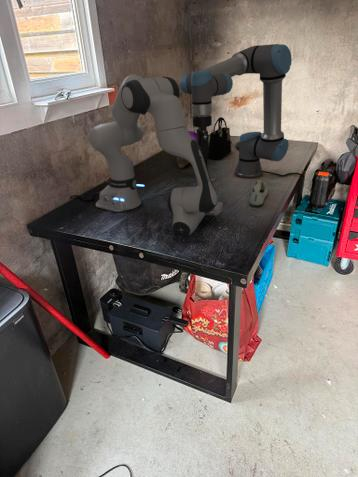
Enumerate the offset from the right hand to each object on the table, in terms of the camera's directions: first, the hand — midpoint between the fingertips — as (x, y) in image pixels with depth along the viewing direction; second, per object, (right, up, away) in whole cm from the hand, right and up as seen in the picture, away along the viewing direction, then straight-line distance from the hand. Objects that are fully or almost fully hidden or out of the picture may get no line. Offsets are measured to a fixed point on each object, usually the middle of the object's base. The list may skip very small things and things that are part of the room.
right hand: (203, 173), depth 139 cm
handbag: (+18, +28, +85) cm, 91 cm away
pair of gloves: (+12, +44, +112) cm, 121 cm away
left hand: (+1, -10, +7) cm, 12 cm away
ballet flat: (+29, -8, +21) cm, 36 cm away
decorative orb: (-2, +33, +94) cm, 100 cm away
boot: (-6, +21, +75) cm, 78 cm away
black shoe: (+46, +39, +101) cm, 118 cm away
